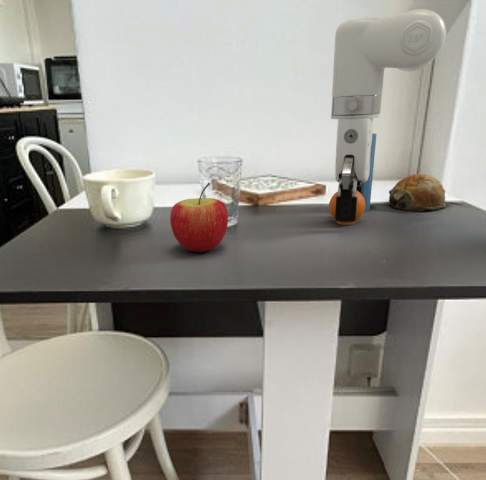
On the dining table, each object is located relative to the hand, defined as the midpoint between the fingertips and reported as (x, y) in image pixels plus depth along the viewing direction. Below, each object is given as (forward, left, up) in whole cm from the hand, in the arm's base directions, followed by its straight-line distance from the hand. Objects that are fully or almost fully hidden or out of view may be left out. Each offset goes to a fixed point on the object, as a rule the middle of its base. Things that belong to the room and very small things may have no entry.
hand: (348, 214), depth 76 cm
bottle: (-8, -8, -2) cm, 11 cm away
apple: (+28, 0, -2) cm, 28 cm away
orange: (0, 0, -2) cm, 2 cm away
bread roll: (-19, -3, -2) cm, 19 cm away
